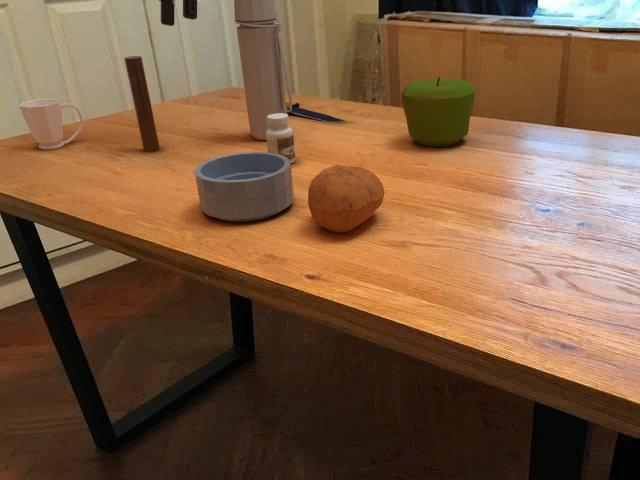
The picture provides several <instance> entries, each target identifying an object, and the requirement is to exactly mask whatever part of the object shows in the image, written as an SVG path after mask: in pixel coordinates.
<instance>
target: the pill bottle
mask: <svg viewBox="0 0 640 480" xmlns="http://www.w3.org/2000/svg"><path fill="white" fill-rule="evenodd" d="M267 123H268V126H270V128H269V129H268V130H267V131H266V138H267V140H266V144H267V145H266V146H267V152H269V153H275V154H279V155H282V156H284V157H287V158H288V159H289V161H290V162H291V165H292V164H294V163H295V162H296V160H297V159H296V152H295V151H296V150H295V149H296V148H295V136H294V130H293V128H292V127H290V126H289V125H290V120H289V114H284V113H276V114H271V115H268V116H267Z"/></svg>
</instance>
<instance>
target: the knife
mask: <svg viewBox="0 0 640 480" xmlns="http://www.w3.org/2000/svg"><path fill="white" fill-rule="evenodd" d="M286 108H287V111H289V102H286ZM289 114H295V115H298V116H302V117H306V118H311V119H315V120H318V121H322V122H327V123H343V122H346V120H345V119H341V118H338V117H335V116H333V115H329V114H326V113H323V112H322V113H321V112H317V111H314V110H310V109H306V108H302V107H300V103H299V102H296V103H294V104H293V103H292V111H291V112H287V115H289Z"/></svg>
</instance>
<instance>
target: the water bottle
mask: <svg viewBox="0 0 640 480" xmlns="http://www.w3.org/2000/svg"><path fill="white" fill-rule="evenodd" d="M233 6H234V7H233V9H234V23H235V24H236V25H238V26H236V33H237V34H236V35H237V43H238V49H239V56H240V64H241V72H242V78H243V88H244V94H245V95H244V96H245V102H246V110H247V118H248V125H249V133H250V135H251V136H252V137H253V138H254V139H255V140H259V141H267V138H266V131H267V130H268V129H269V128H270V126H268V123H267V116H268V115H271V114H276V113H284V114H287V112H291V111H292V104H293V95H292V91H291V86H290V80H289V76H288V71H287V65H286V60H285V59H286V58H285V55H284V50H283V45H282V39H281V34H280V33H281V26H282V25H283V21H282V20H279V19H278V14H277V9H276V4H275V0H233ZM283 73H284V74H283ZM284 78H285V82H284ZM285 83H286V84H285ZM285 85H286V89H287V95H288V103H289V111H287V108H286V103H287V102H286V101H287V100H286V94H285V93H286V92H285ZM287 115H288V114H287Z"/></svg>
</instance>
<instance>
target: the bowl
mask: <svg viewBox="0 0 640 480" xmlns="http://www.w3.org/2000/svg"><path fill="white" fill-rule="evenodd" d="M193 173H194V178H195V183H196V189H197V194H198V200H199V201H198V202H199V206H200V209H201V211H202V213H204V214H206V215H207V216H209V217H213V218H215V219H217V220H221V221H225V222H234V223H235V222H237V223H239V222H241V223H243V222H254V221H258V220H259V221H260V220H263V219H267V218H271V217H273V216H276V215H278V214H279V213H281V212H282V211H284V210H285V209H287V208H288V207H290V206H291V205H293V203H294V199H295V192H294V181H293V171H292V164H291V162H290V161H289V159H288V158H287V157H284V156H282V155H279V154H275V153H269V152H268V151H245V152H244V151H243V152H235V153H227V154H224V155H220V156H216V157H213V158H210V159H207V160H205V161H203V162H201V163H200V164H198V165H197V166H196V167H195V169H194V171H193Z"/></svg>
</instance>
